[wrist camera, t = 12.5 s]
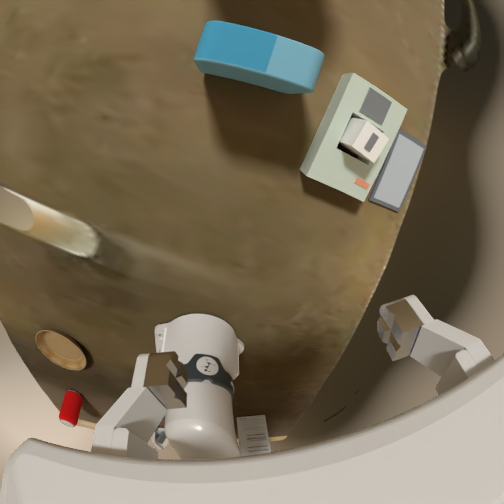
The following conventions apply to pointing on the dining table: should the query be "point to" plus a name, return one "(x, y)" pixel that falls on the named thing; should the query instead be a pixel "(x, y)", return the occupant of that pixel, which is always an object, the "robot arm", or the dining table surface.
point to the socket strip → (333, 126)
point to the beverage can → (70, 408)
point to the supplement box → (253, 435)
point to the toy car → (160, 438)
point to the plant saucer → (61, 349)
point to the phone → (398, 171)
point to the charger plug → (363, 139)
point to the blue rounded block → (258, 58)
